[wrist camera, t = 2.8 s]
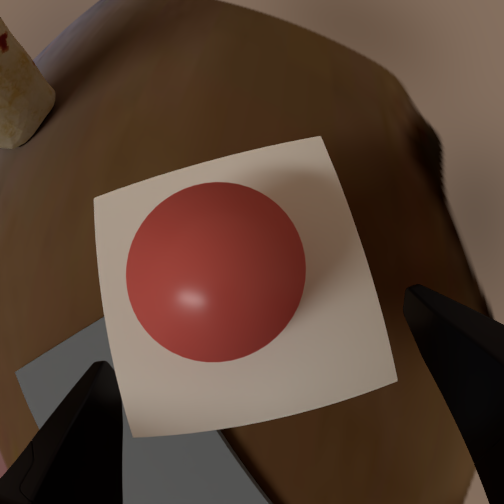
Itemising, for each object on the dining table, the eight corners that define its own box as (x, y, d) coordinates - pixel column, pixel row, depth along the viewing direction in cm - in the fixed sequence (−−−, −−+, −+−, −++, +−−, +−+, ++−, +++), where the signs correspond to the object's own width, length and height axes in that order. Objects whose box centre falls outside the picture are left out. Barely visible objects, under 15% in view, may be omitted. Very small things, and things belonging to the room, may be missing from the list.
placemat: (286, 520, 13) (287, 525, 12) (135, 556, 12) (132, 560, 11) (145, 295, 17) (141, 294, 16) (20, 371, 16) (15, 372, 15)
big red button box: (316, 348, 15) (436, 395, 3) (223, 370, 15) (93, 463, 3) (292, 257, 17) (330, 87, 5) (202, 280, 17) (55, 166, 5)
